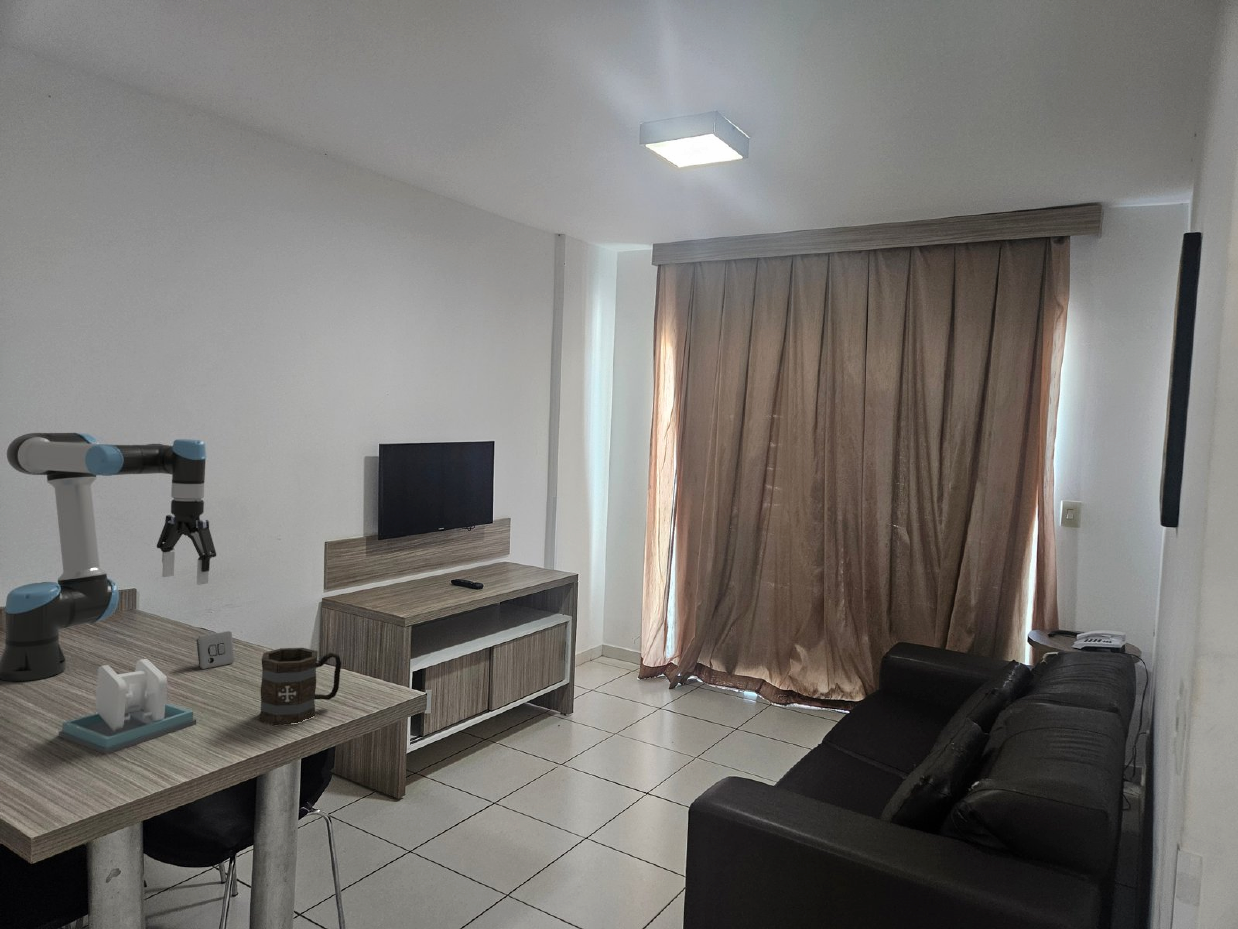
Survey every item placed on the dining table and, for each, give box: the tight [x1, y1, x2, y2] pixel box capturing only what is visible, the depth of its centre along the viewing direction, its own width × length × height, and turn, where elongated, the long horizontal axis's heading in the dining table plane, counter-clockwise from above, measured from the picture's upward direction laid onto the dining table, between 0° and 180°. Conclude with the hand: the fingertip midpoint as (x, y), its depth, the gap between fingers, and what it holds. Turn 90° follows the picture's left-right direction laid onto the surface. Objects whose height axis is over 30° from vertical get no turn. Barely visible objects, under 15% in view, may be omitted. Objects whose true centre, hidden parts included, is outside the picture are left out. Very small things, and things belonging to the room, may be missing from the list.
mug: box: [258, 647, 342, 726], centre depth 201 cm, size 20×14×15 cm
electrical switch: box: [196, 630, 235, 670], centre depth 233 cm, size 9×5×9 cm, turn 141°
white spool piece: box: [94, 658, 168, 731], centre depth 185 cm, size 15×11×12 cm
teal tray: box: [58, 702, 197, 755], centre depth 185 cm, size 17×21×3 cm
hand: (185, 580), depth 212 cm, fingers open, 13 cm apart
